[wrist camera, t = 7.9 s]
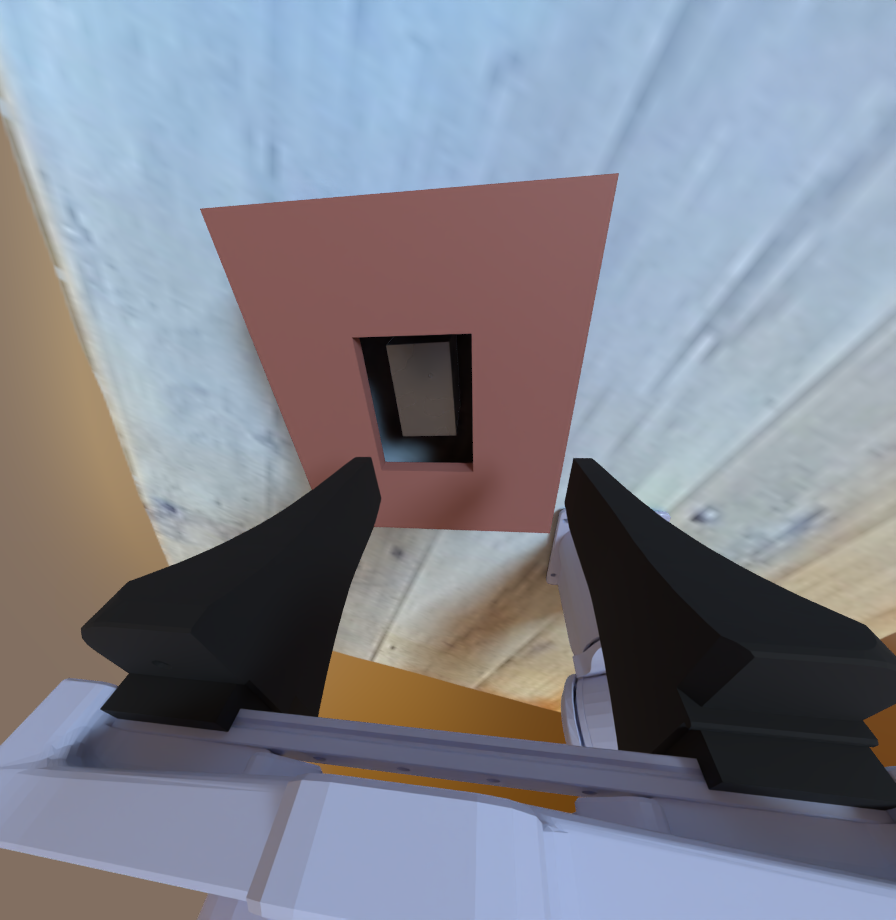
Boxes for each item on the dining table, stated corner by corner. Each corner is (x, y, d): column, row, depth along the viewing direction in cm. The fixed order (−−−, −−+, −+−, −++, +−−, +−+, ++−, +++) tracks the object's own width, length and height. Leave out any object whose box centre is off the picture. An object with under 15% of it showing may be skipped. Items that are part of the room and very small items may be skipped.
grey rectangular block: (460, 403, 21) (456, 435, 17) (415, 404, 21) (403, 436, 18) (455, 322, 18) (449, 341, 15) (403, 325, 18) (386, 345, 15)
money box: (537, 475, 23) (549, 533, 19) (354, 472, 25) (326, 525, 20) (576, 192, 14) (619, 173, 10) (281, 215, 16) (199, 208, 11)
